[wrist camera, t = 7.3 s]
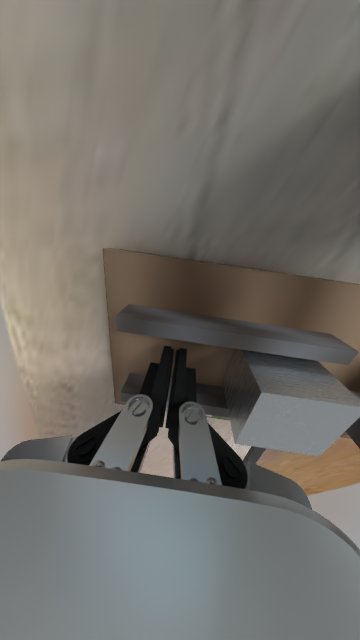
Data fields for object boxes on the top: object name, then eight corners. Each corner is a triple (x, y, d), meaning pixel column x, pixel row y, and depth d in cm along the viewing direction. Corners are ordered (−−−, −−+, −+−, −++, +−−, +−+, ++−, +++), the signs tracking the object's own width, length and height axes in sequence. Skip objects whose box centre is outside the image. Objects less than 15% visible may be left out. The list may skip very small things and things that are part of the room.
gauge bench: (119, 394, 16) (74, 487, 10) (110, 248, 10) (-19, 255, 4) (348, 428, 16) (446, 545, 10) (478, 301, 10) (948, 396, 4)
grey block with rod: (211, 415, 15) (217, 476, 11) (237, 340, 11) (261, 392, 7) (323, 432, 15) (369, 499, 11) (387, 362, 11) (493, 427, 7)
